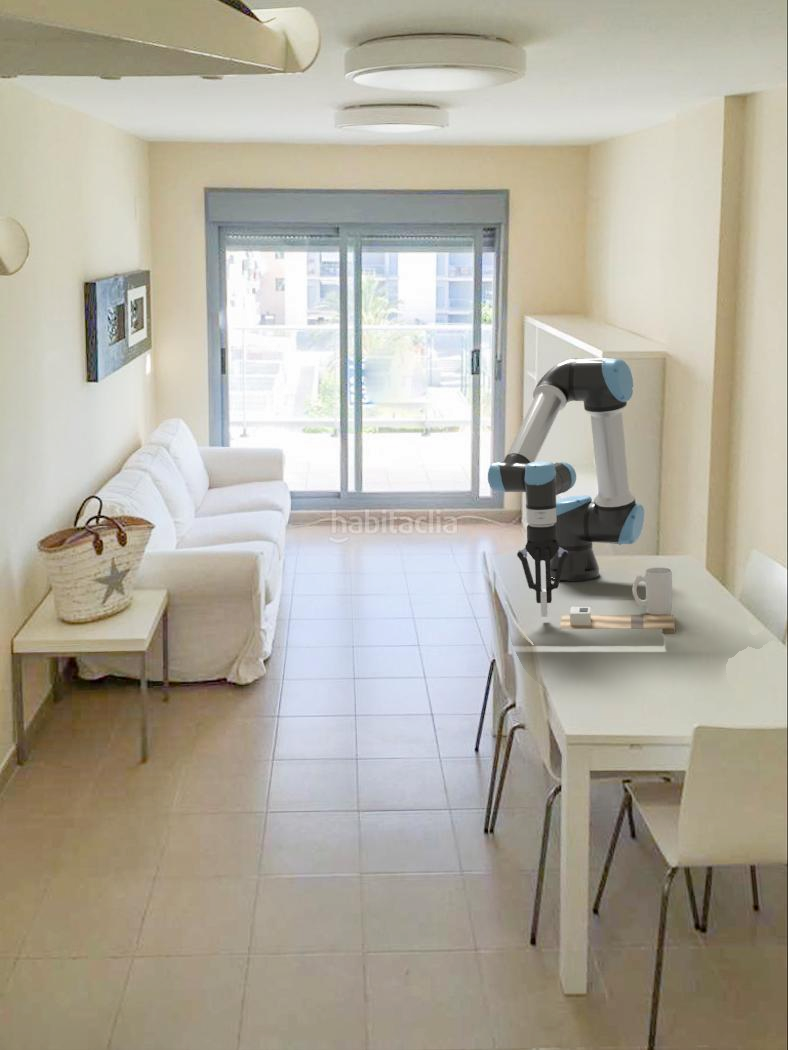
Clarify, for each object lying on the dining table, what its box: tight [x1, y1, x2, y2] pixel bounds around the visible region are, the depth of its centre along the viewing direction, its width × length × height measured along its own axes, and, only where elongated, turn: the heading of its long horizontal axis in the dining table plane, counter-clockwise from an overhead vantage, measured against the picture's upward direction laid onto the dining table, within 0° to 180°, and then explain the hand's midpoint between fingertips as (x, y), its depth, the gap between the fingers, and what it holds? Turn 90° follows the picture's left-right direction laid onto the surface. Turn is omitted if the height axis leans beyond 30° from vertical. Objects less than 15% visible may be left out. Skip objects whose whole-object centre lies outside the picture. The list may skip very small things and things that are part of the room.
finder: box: [569, 606, 592, 625], centre depth 316 cm, size 6×5×3 cm
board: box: [559, 614, 676, 634], centre depth 314 cm, size 12×28×1 cm, turn 80°
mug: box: [631, 566, 673, 615], centre depth 320 cm, size 10×7×12 cm, turn 84°
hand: (544, 615), depth 317 cm, fingers closed
